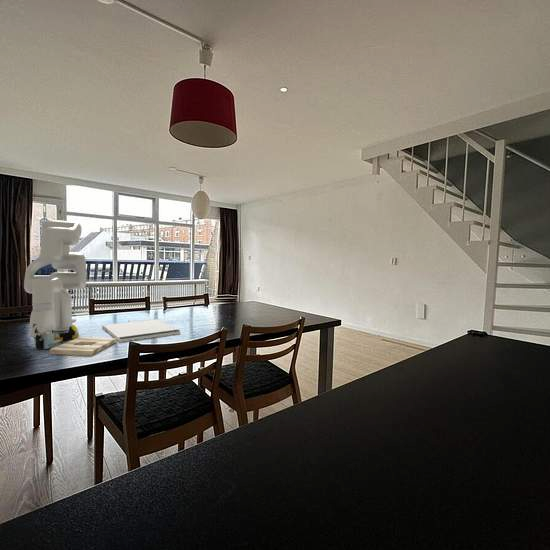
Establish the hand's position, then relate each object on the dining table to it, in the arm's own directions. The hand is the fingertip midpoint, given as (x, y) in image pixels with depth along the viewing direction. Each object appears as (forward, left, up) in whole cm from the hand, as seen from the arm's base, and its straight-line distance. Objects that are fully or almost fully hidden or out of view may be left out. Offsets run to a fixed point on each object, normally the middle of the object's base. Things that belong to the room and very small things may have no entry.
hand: (43, 347), depth 142 cm
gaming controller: (-15, -2, -1) cm, 15 cm away
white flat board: (-37, +27, -1) cm, 46 cm away
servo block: (0, +1, 0) cm, 1 cm away
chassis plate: (-3, +17, -1) cm, 17 cm away
